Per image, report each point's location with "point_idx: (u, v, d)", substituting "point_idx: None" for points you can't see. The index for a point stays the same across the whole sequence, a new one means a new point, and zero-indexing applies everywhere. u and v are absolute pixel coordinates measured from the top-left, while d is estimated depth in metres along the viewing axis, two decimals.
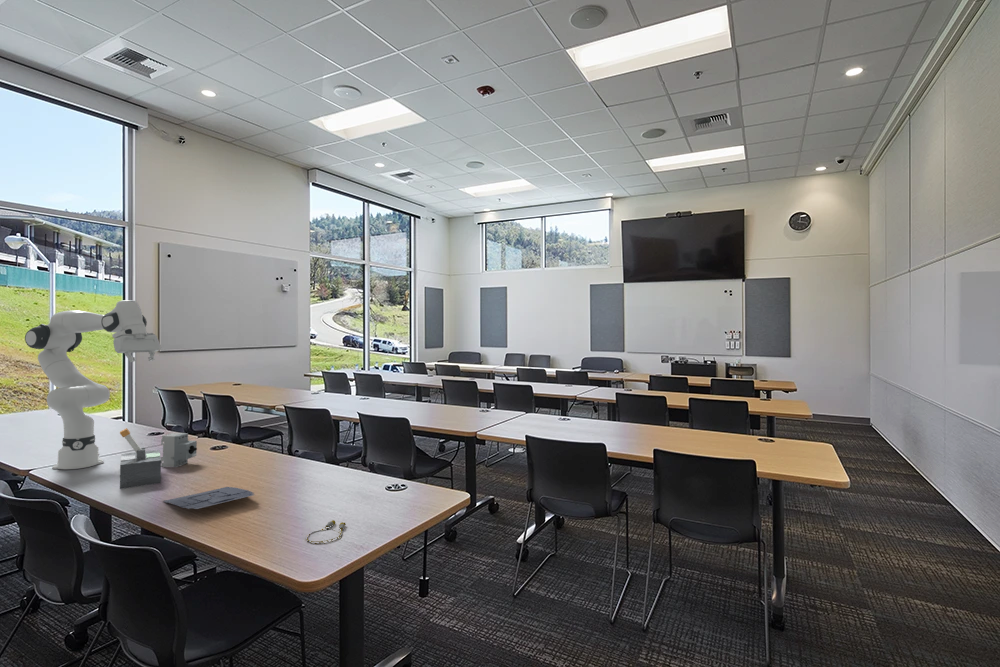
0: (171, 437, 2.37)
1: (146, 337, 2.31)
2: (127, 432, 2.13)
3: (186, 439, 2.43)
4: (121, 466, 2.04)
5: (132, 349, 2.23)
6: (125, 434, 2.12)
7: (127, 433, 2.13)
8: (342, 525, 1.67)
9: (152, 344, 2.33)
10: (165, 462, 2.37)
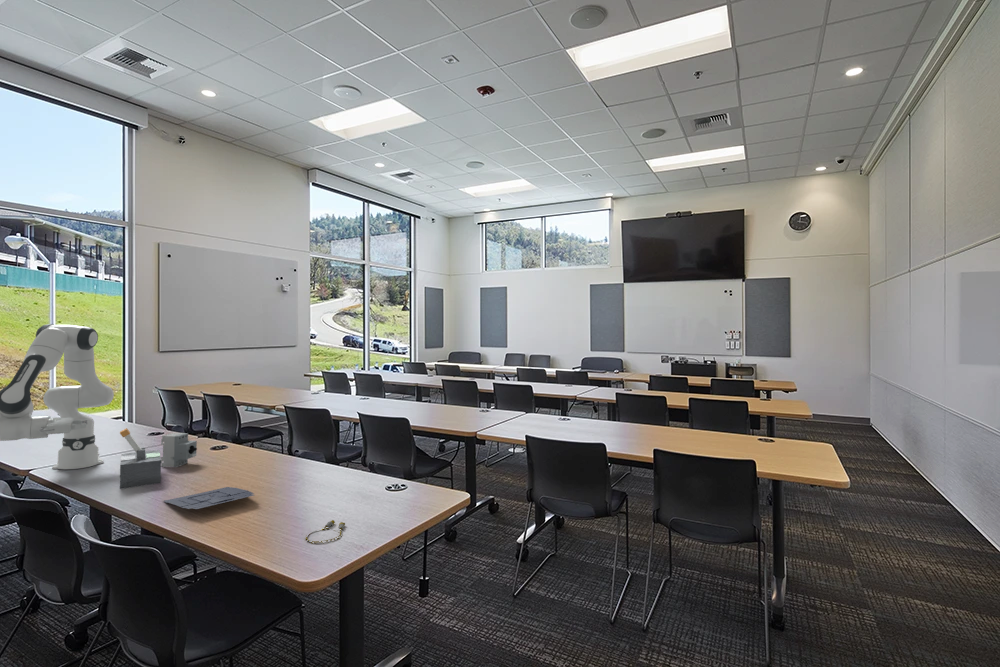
0: (171, 437, 2.37)
1: None
2: (127, 432, 2.13)
3: (186, 439, 2.43)
4: (121, 466, 2.04)
5: None
6: (125, 434, 2.12)
7: (127, 433, 2.13)
8: (342, 525, 1.67)
9: None
10: (165, 462, 2.37)
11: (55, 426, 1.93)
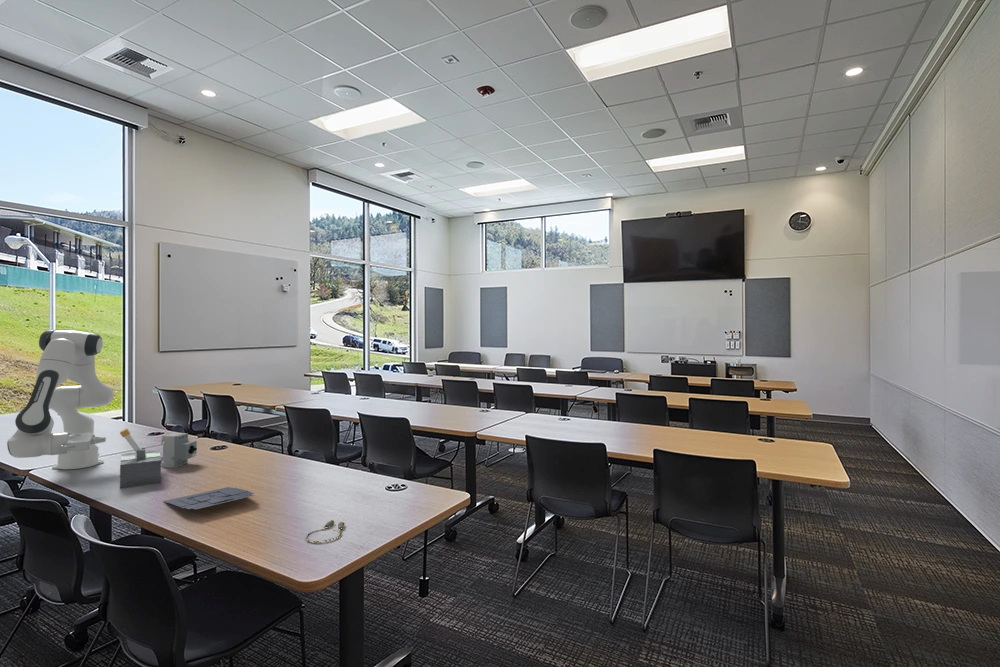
0: (171, 437, 2.37)
1: None
2: (127, 432, 2.13)
3: (186, 439, 2.43)
4: (121, 466, 2.04)
5: None
6: (125, 434, 2.12)
7: (127, 433, 2.13)
8: (341, 525, 1.67)
9: None
10: (165, 462, 2.37)
11: (75, 443, 1.96)
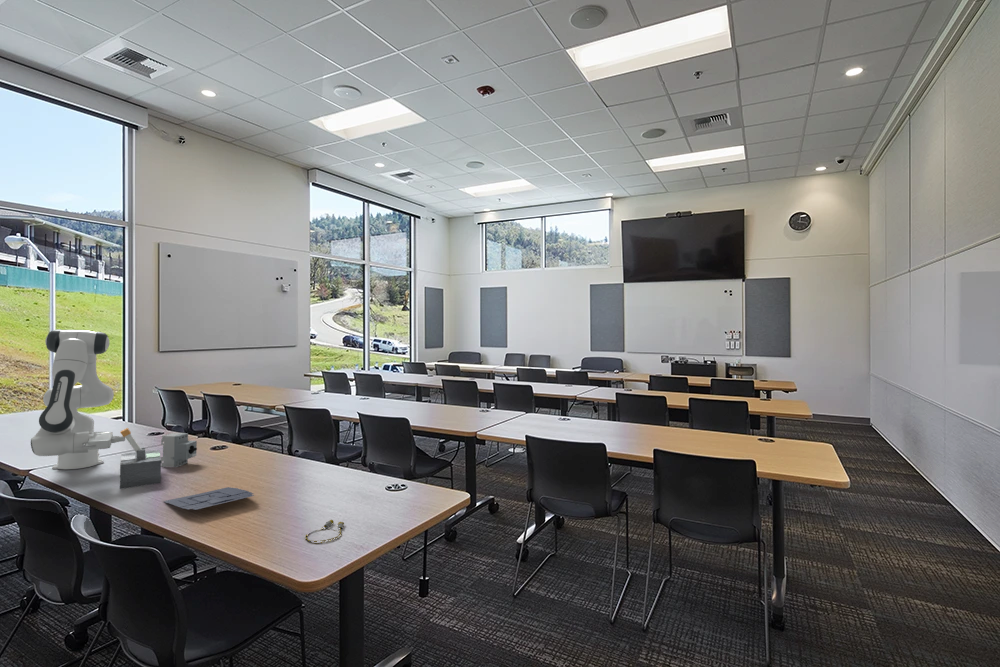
0: (171, 437, 2.37)
1: None
2: (128, 432, 2.13)
3: (186, 439, 2.43)
4: (121, 466, 2.04)
5: None
6: (126, 434, 2.12)
7: (128, 433, 2.13)
8: (341, 524, 1.68)
9: None
10: (165, 462, 2.37)
11: (96, 442, 2.00)
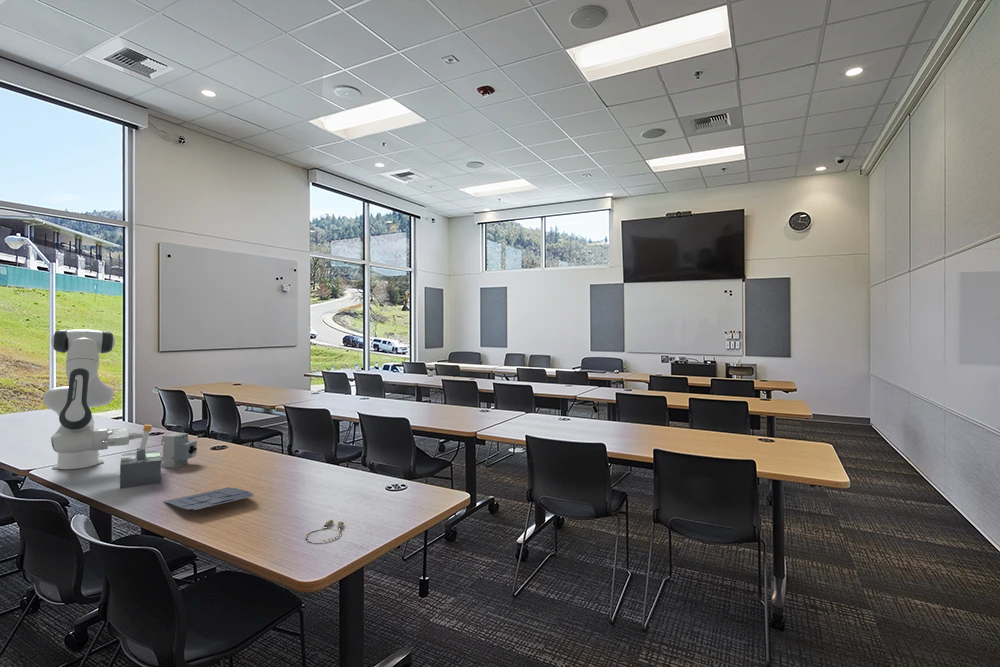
0: (171, 437, 2.37)
1: None
2: (150, 429, 2.17)
3: (186, 439, 2.43)
4: (121, 466, 2.04)
5: None
6: (147, 429, 2.17)
7: (149, 429, 2.17)
8: (340, 524, 1.68)
9: None
10: (165, 462, 2.37)
11: (115, 439, 2.04)
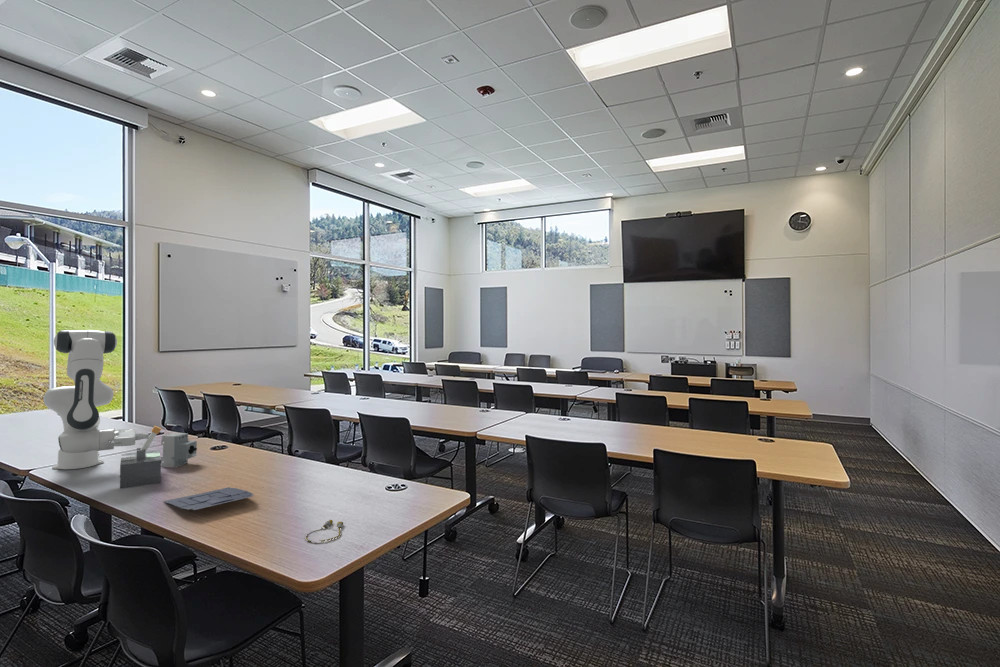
0: (171, 437, 2.37)
1: None
2: (158, 431, 2.19)
3: (186, 439, 2.43)
4: (121, 466, 2.04)
5: None
6: (155, 431, 2.19)
7: (157, 432, 2.19)
8: (340, 524, 1.68)
9: None
10: (165, 462, 2.37)
11: (122, 439, 2.05)
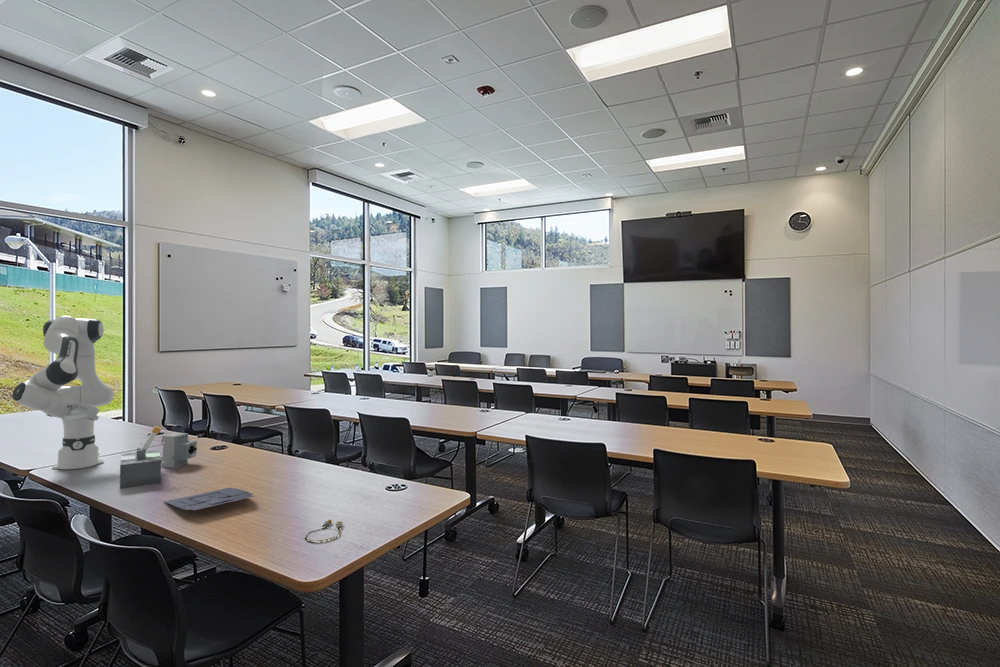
0: (171, 437, 2.37)
1: (71, 412, 2.02)
2: (158, 431, 2.19)
3: (186, 439, 2.43)
4: (121, 466, 2.04)
5: (74, 419, 2.10)
6: (155, 431, 2.19)
7: (157, 432, 2.19)
8: (339, 524, 1.68)
9: (83, 415, 2.04)
10: (165, 462, 2.37)
11: (88, 406, 2.03)
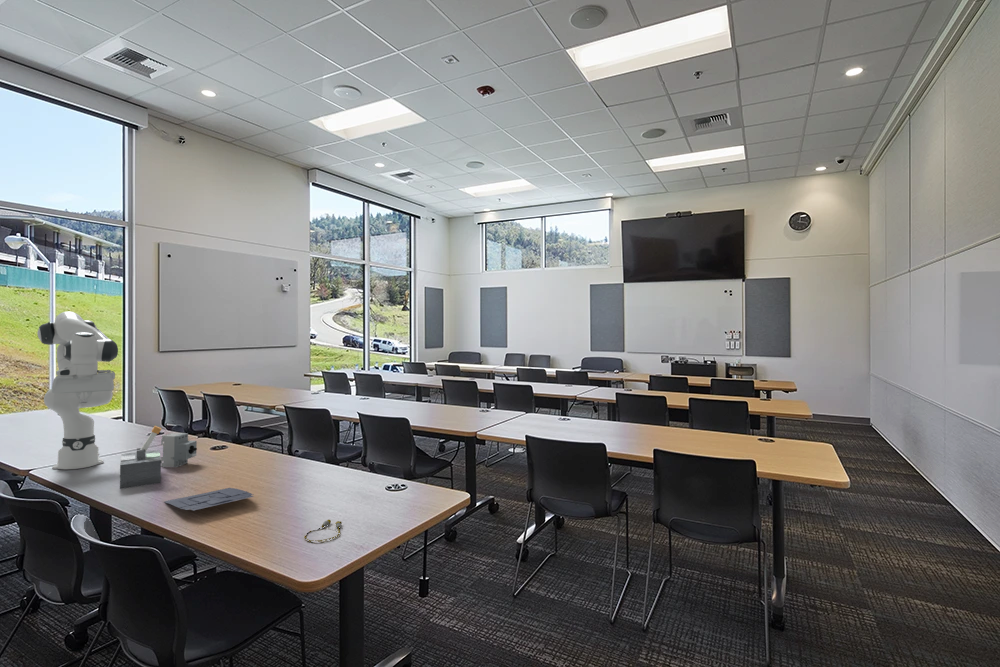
0: (171, 437, 2.37)
1: (94, 377, 2.09)
2: (158, 431, 2.19)
3: (186, 439, 2.43)
4: (121, 466, 2.04)
5: (68, 391, 2.04)
6: (155, 431, 2.19)
7: (157, 432, 2.19)
8: (339, 524, 1.68)
9: (100, 385, 2.10)
10: (165, 462, 2.37)
11: None
